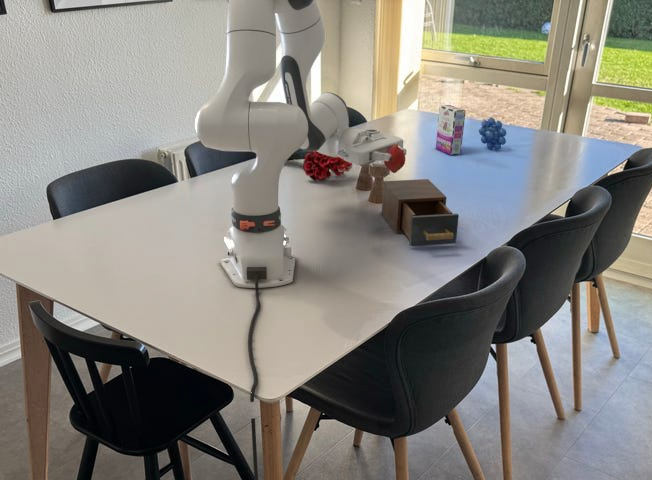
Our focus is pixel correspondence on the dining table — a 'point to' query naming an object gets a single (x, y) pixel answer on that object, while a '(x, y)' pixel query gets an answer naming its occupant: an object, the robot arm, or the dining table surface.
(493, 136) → the grapes
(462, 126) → the candy bar box
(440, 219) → the drawer
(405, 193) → the cabinet
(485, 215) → the dining table surface
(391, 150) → the onion
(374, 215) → the dining table surface
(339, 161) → the carnation
